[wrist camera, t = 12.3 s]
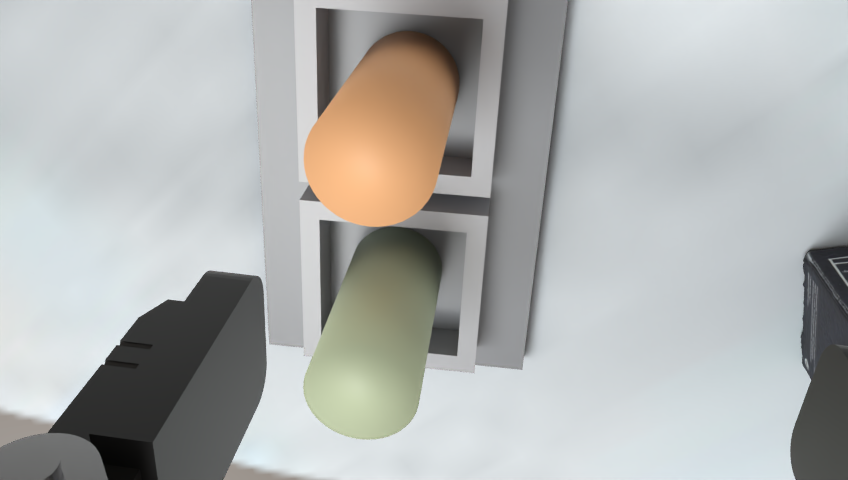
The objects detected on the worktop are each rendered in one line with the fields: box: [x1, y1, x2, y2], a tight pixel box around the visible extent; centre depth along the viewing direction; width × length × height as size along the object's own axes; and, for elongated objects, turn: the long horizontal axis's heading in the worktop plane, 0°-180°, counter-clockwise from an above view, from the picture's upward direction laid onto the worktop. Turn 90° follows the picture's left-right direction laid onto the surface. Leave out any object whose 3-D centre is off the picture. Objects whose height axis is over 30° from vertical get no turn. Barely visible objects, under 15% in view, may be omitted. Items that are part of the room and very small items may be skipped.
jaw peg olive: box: [303, 227, 442, 440], centre depth 31 cm, size 4×4×9 cm
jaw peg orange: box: [304, 31, 459, 227], centre depth 27 cm, size 4×4×9 cm
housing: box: [251, 0, 568, 373], centre depth 33 cm, size 18×12×3 cm, turn 177°
